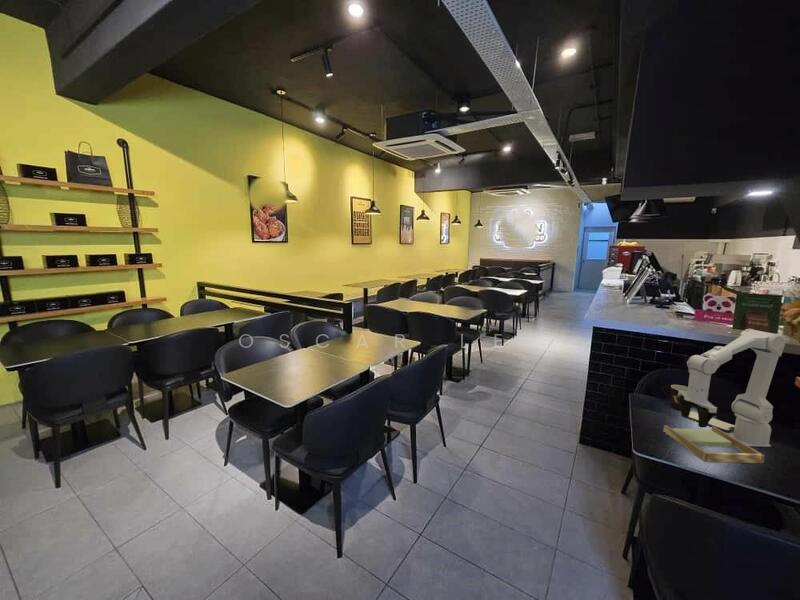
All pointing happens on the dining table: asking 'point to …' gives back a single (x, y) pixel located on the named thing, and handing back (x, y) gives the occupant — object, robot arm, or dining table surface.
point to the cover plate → (704, 437)
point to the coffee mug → (675, 395)
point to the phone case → (713, 423)
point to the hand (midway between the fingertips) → (693, 421)
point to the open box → (745, 457)
